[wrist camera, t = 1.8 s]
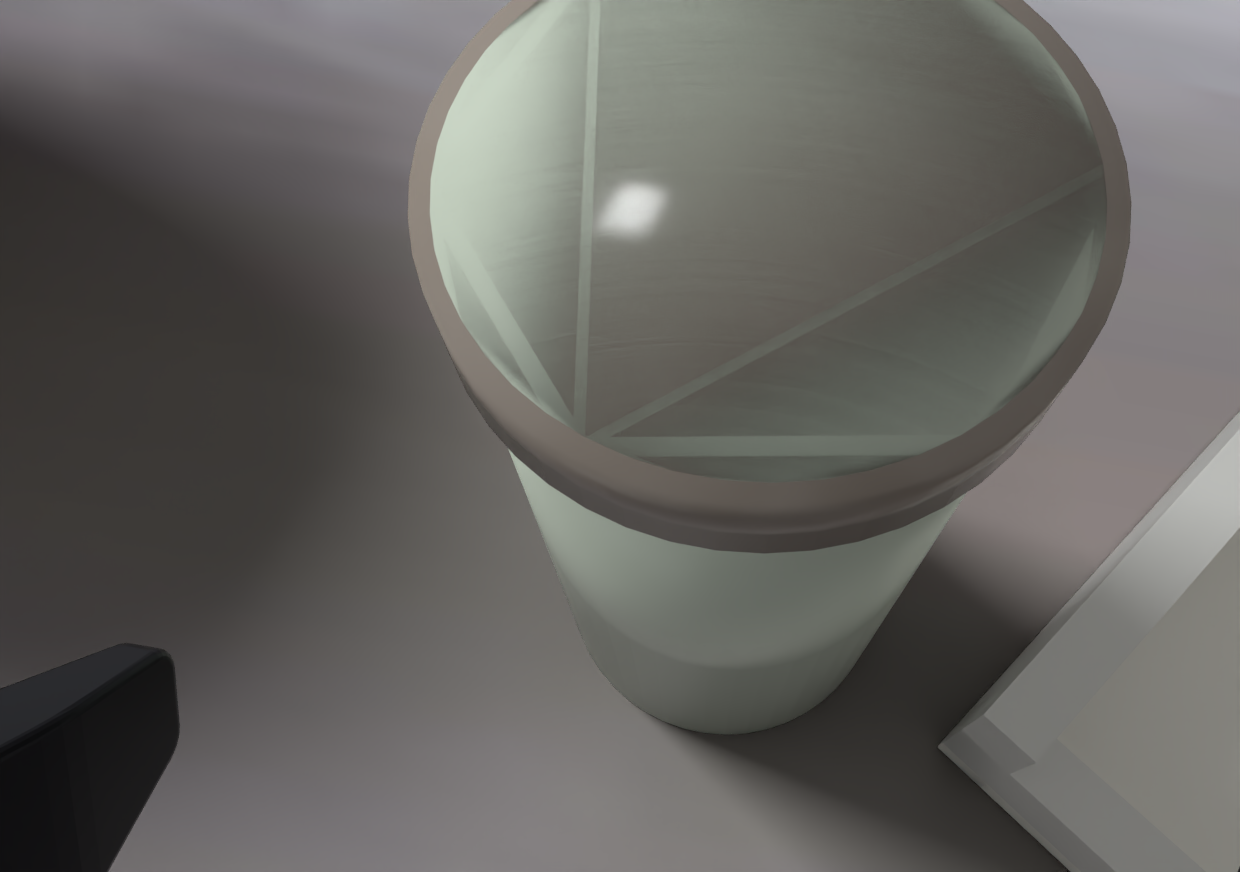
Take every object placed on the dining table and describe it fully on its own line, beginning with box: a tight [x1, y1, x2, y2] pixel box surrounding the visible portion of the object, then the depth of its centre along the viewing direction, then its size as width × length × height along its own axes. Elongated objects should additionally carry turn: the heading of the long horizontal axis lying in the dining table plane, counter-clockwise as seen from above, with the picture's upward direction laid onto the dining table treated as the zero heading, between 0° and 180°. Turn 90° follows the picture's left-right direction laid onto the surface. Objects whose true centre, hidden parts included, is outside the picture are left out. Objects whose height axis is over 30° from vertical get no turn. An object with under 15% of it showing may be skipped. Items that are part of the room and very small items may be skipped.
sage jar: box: [408, 0, 1131, 735], centre depth 16 cm, size 6×6×13 cm
